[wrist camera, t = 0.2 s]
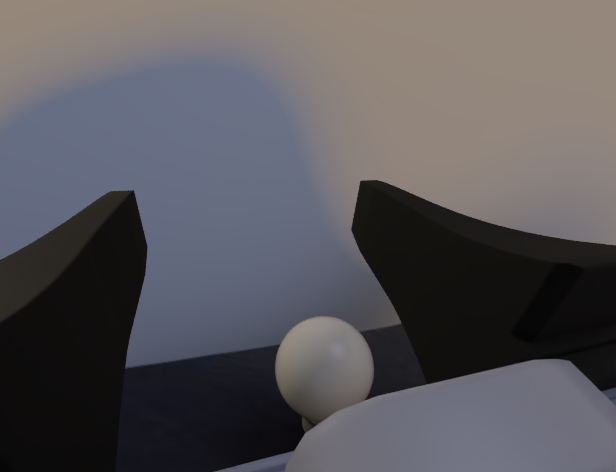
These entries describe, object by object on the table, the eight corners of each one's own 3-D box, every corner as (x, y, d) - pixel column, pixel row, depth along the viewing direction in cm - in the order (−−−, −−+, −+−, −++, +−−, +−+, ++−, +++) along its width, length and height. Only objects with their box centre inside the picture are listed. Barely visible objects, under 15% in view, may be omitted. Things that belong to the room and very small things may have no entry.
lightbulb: (357, 391, 28) (374, 299, 22) (363, 477, 23) (387, 387, 17) (283, 386, 29) (280, 293, 22) (272, 470, 23) (265, 379, 17)
